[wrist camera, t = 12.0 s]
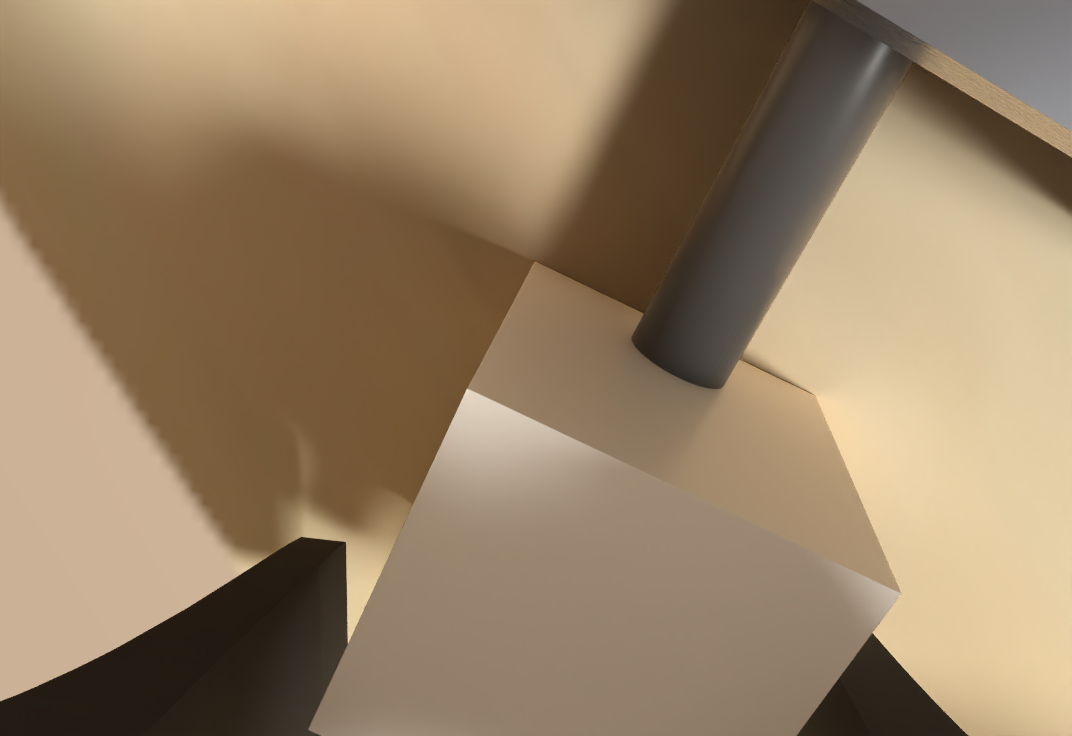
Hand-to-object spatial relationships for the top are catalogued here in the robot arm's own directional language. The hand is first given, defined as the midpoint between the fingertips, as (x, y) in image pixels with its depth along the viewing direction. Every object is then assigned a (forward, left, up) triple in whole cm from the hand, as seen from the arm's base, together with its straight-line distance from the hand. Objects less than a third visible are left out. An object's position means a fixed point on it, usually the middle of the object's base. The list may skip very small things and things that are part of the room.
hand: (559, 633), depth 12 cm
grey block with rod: (+1, -7, -1) cm, 7 cm away
